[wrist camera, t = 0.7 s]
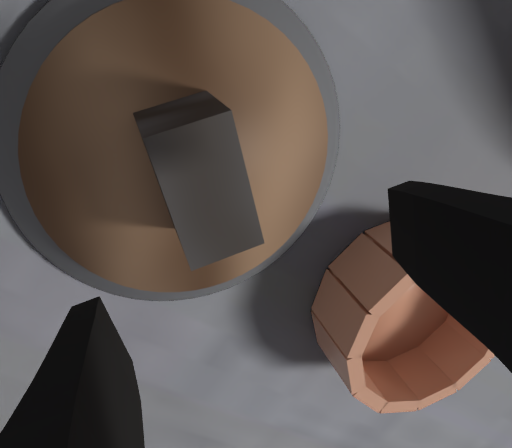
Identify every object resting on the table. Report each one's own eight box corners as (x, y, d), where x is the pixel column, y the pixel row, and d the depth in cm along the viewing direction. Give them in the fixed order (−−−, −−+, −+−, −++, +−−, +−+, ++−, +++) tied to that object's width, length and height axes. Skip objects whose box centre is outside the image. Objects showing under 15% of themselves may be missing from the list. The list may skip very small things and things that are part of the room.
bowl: (325, 385, 28) (359, 439, 24) (299, 256, 23) (336, 301, 19) (461, 323, 30) (510, 366, 26) (465, 191, 25) (526, 222, 21)
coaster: (85, 340, 21) (85, 344, 21) (-100, 18, 14) (-104, 18, 14) (352, 235, 23) (354, 238, 23) (312, -83, 16) (315, -84, 16)
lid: (98, 320, 20) (101, 389, 17) (-51, 44, 14) (-95, 60, 11) (335, 229, 22) (382, 273, 19) (294, -46, 16) (352, -57, 13)
